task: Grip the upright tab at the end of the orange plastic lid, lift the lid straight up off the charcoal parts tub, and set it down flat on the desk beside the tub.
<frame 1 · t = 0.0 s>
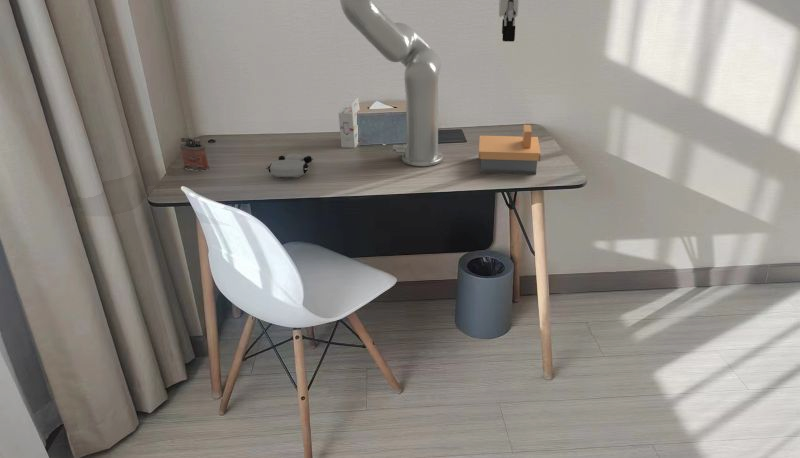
hand: (507, 37, 167), 37 cm above the table, tool pointing down, fingers open, 9 cm apart
lighter: (197, 169, 185), on the table
robot toy: (292, 173, 181), on the table
ink cartridge box: (351, 144, 201), on the table
tub: (507, 165, 182), on the table
lid: (508, 151, 180), point 4 cm above the table, touching tub
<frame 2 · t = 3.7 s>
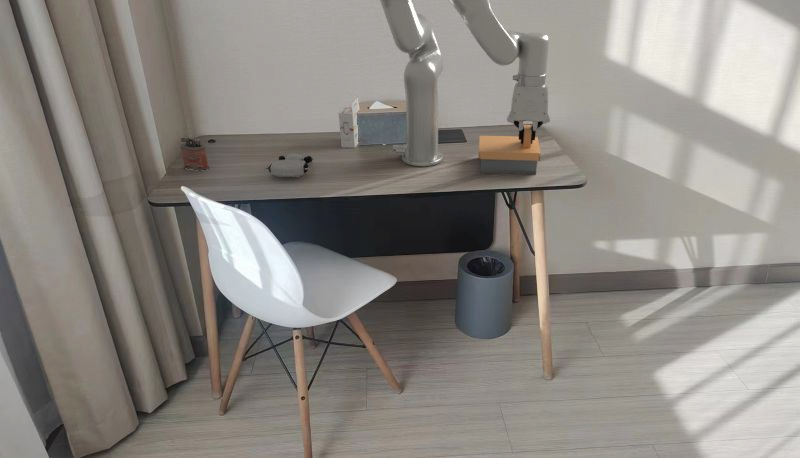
hand: (526, 141, 177), 8 cm above the table, tool pointing down, fingers closed on lid
lid: (508, 151, 180), point 5 cm above the table, touching gripper, tub
everything else where it was.
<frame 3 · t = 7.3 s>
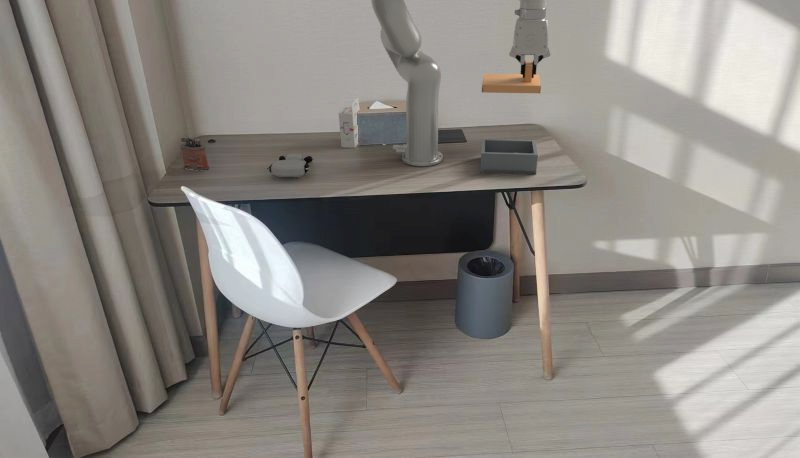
hand: (528, 76, 186), 22 cm above the table, tool pointing down, fingers closed on lid
lid: (510, 86, 188), point 19 cm above the table, touching gripper
everything else where it was.
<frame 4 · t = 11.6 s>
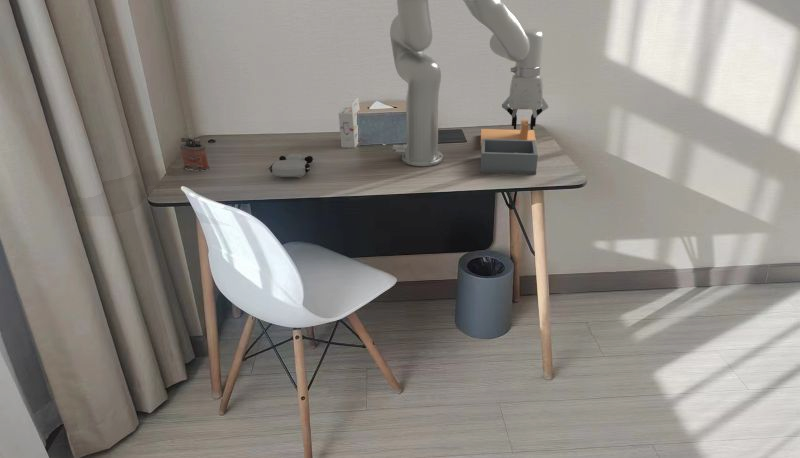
hand: (523, 127, 195), 5 cm above the table, tool pointing down, fingers open, 4 cm apart
lid: (507, 143, 198), on the table
everything else where it was.
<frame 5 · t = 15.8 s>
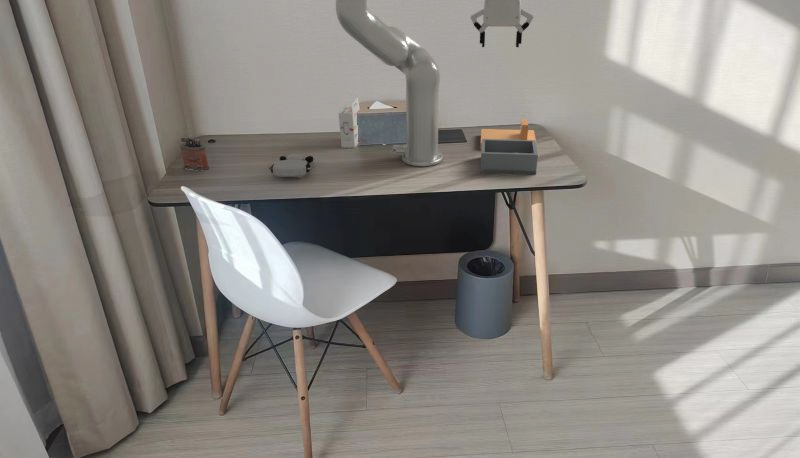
hand: (500, 46, 173), 33 cm above the table, tool pointing down, fingers open, 9 cm apart
nothing on the table moved.
at the end: lid inside the target area (1.6 cm from its centre), on the table; lid tilted 0°; the gripper is holding nothing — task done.
